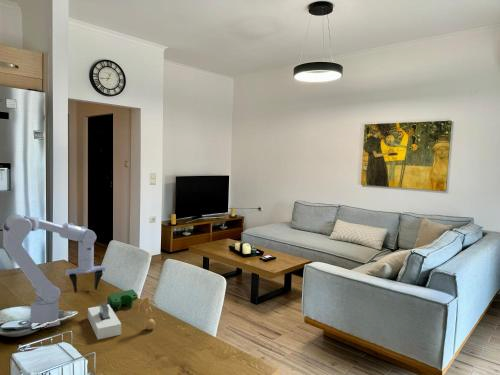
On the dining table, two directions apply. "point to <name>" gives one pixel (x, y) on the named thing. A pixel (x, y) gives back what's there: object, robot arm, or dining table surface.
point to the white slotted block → (104, 323)
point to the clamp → (122, 299)
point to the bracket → (104, 311)
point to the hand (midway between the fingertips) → (85, 290)
